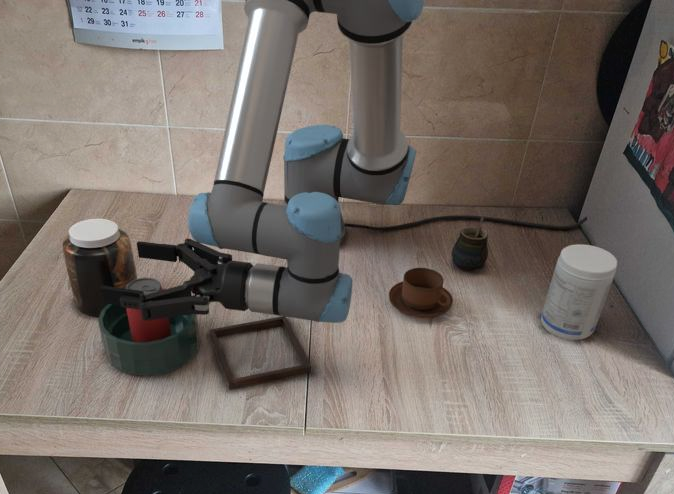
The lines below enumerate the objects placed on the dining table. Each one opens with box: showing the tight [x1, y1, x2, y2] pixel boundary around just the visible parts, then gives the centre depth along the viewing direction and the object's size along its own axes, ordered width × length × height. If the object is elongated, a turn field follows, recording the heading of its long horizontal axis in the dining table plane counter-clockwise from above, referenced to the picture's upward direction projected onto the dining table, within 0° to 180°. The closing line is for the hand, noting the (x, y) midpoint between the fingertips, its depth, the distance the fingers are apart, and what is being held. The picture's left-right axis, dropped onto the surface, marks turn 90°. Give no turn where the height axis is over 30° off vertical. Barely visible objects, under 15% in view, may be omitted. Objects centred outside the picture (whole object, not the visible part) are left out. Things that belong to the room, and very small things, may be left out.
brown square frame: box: [208, 316, 313, 391], centre depth 111 cm, size 14×15×2 cm
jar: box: [62, 218, 138, 318], centre depth 118 cm, size 12×12×15 cm
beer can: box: [126, 277, 171, 342], centre depth 108 cm, size 7×7×12 cm
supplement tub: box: [540, 243, 618, 341], centre depth 114 cm, size 10×10×15 cm
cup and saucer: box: [388, 267, 454, 319], centre depth 121 cm, size 12×12×6 cm
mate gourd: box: [451, 215, 489, 273], centre depth 132 cm, size 7×8×10 cm
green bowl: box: [97, 288, 201, 376], centre depth 109 cm, size 16×16×7 cm
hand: (121, 270), depth 103 cm, fingers open, 13 cm apart
